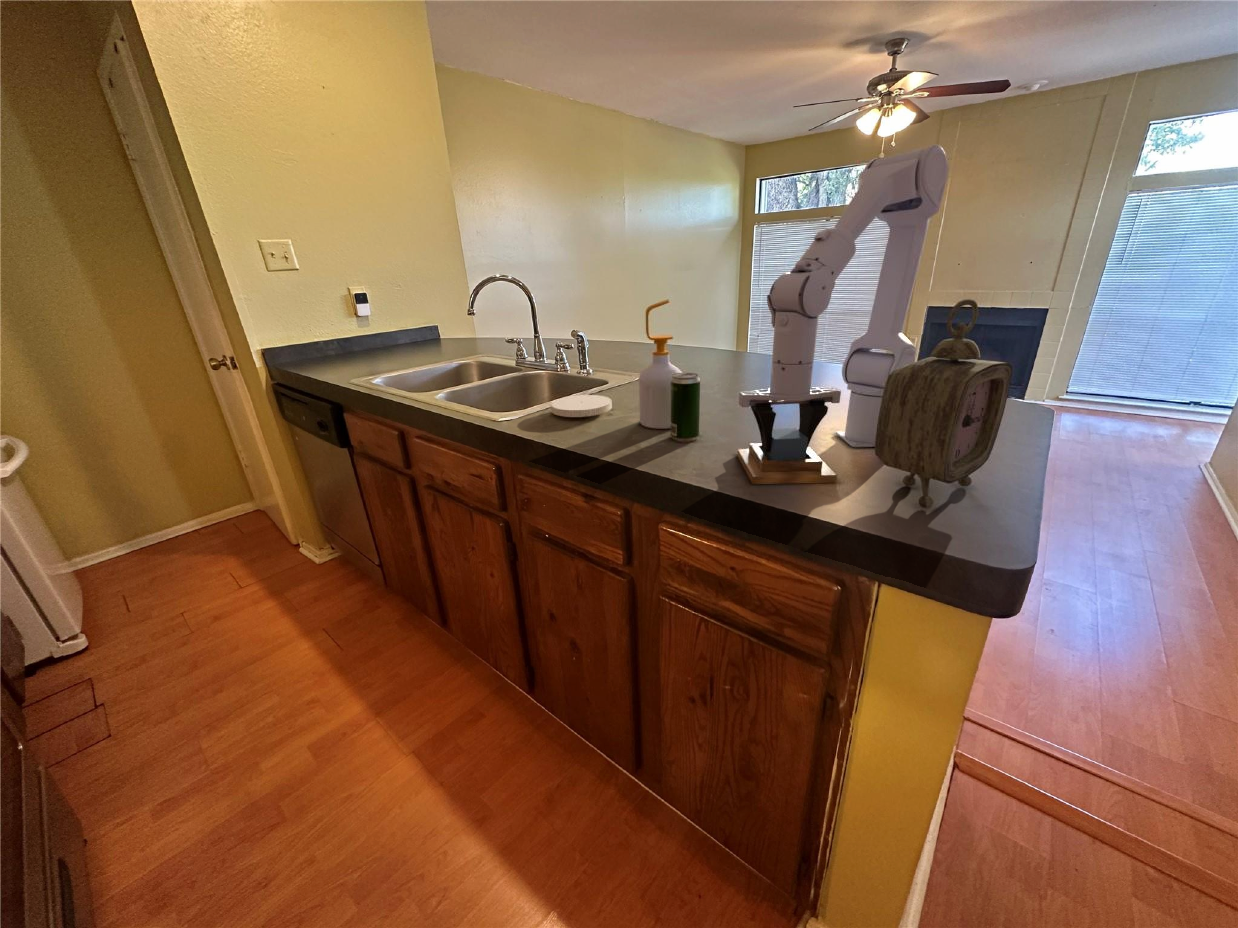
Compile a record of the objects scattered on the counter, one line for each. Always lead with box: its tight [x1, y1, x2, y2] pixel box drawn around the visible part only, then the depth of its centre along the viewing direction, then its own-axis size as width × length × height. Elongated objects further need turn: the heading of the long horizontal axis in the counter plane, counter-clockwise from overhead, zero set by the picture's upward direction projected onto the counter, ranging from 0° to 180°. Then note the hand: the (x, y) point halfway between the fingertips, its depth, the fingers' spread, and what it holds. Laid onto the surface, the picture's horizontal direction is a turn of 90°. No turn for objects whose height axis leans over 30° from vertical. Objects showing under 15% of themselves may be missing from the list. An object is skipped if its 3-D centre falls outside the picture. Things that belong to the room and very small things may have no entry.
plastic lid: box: [550, 394, 613, 418], centre depth 110 cm, size 14×14×2 cm
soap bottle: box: [638, 298, 683, 430], centre depth 96 cm, size 9×9×25 cm
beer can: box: [670, 372, 701, 443], centre depth 89 cm, size 5×5×12 cm
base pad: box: [736, 442, 838, 485], centre depth 75 cm, size 12×12×3 cm
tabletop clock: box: [874, 298, 1013, 509], centre depth 61 cm, size 14×9×25 cm, turn 124°
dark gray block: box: [763, 427, 808, 460], centre depth 74 cm, size 5×5×4 cm
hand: (784, 449), depth 74 cm, fingers closed on dark gray block, 5 cm apart
